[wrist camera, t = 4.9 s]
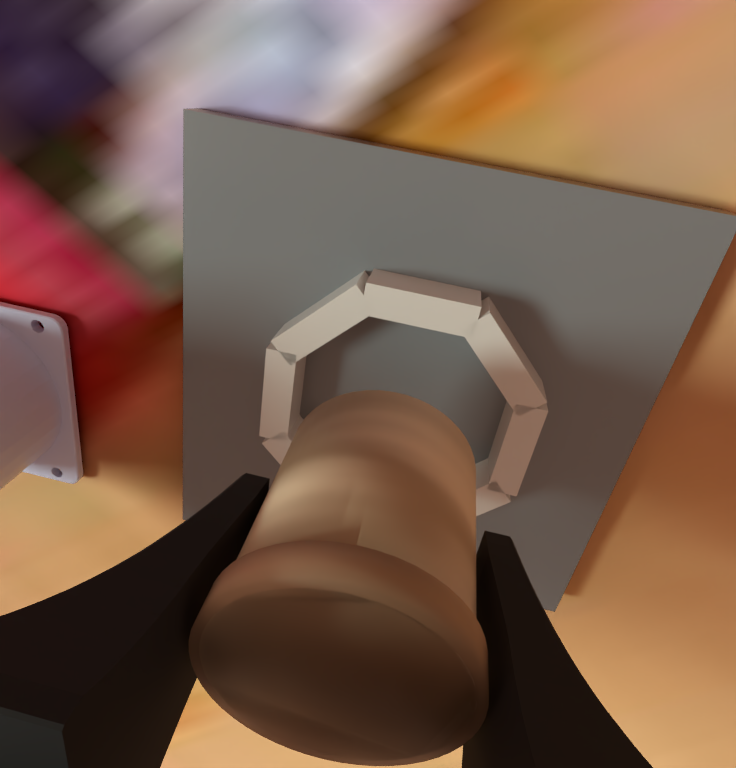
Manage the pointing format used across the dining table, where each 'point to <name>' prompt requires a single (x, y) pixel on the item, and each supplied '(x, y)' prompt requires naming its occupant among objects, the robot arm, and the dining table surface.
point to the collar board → (431, 314)
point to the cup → (356, 592)
